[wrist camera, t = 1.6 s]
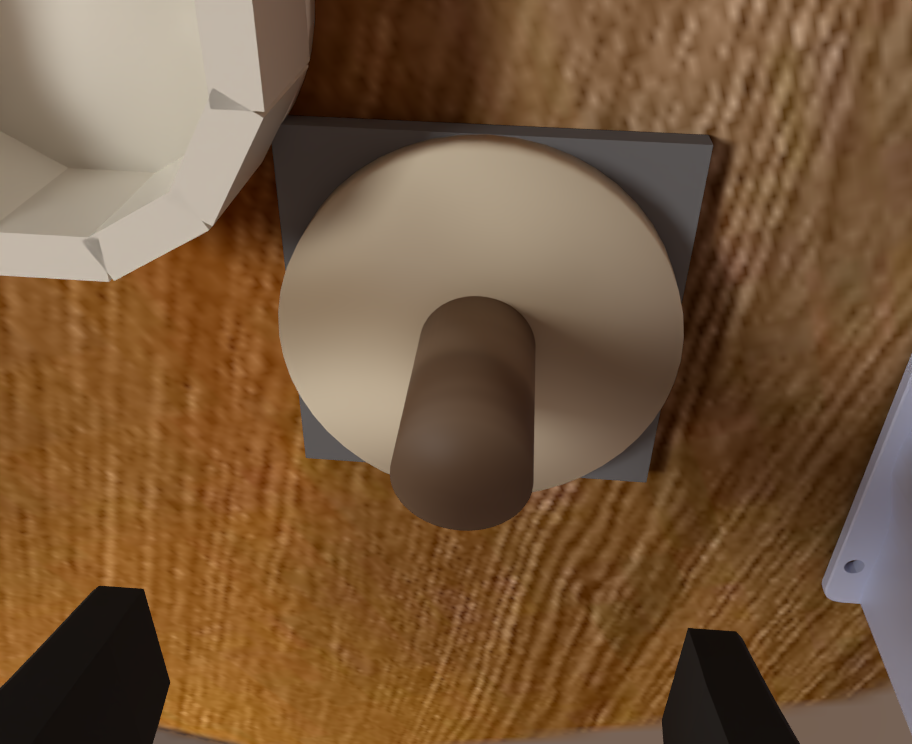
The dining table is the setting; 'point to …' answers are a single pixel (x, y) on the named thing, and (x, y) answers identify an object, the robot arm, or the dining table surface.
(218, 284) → the dining table surface
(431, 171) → the lid
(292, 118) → the mat
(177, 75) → the bowl
